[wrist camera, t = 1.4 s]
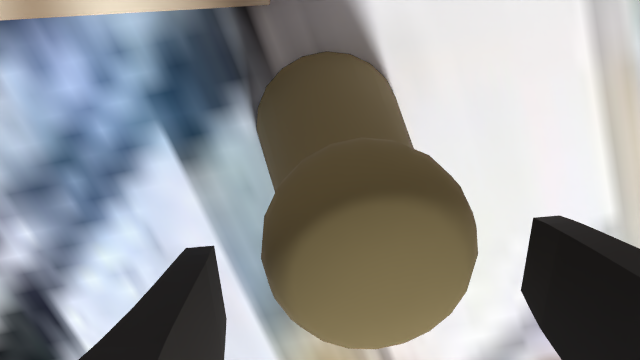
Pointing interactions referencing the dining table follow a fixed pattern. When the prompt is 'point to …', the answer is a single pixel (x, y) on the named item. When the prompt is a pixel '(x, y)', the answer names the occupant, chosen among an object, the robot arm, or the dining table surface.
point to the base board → (107, 7)
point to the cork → (357, 209)
